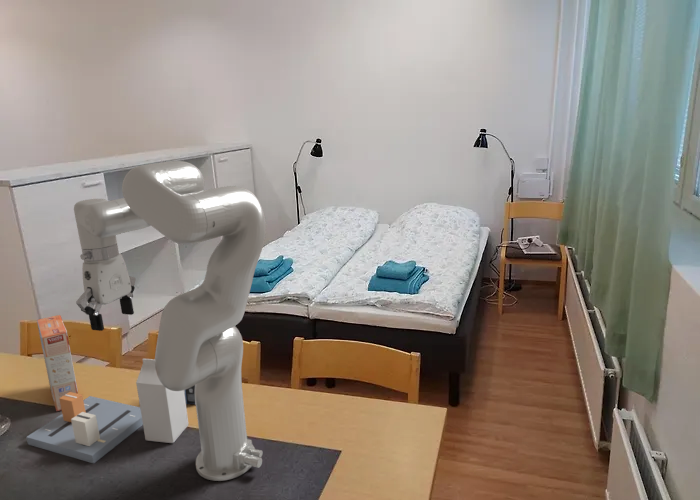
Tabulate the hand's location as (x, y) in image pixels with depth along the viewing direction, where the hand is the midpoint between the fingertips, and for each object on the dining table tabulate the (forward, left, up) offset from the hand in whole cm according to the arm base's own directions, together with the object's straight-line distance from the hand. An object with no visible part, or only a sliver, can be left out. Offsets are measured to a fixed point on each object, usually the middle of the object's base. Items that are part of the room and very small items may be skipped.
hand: (113, 321), depth 124 cm
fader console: (+2, +9, -25) cm, 26 cm away
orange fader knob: (+7, +9, -22) cm, 25 cm away
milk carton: (-16, +4, -25) cm, 30 cm away
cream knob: (-3, +15, -22) cm, 27 cm away
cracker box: (+21, 0, -25) cm, 33 cm away
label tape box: (-11, -9, -25) cm, 28 cm away
